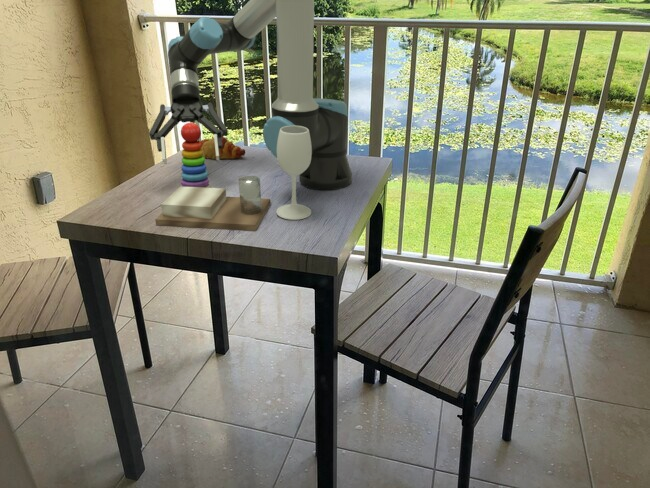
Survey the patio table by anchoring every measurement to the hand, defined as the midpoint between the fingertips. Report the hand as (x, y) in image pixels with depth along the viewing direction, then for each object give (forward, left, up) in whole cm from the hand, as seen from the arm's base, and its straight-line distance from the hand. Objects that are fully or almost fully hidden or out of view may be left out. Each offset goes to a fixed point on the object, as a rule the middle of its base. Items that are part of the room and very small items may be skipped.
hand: (191, 160), depth 134 cm
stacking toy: (0, -1, -10) cm, 10 cm away
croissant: (+4, -34, -10) cm, 35 cm away
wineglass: (-29, +10, -9) cm, 32 cm away
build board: (-10, +13, -9) cm, 19 cm away
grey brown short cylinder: (-19, +13, -8) cm, 24 cm away
